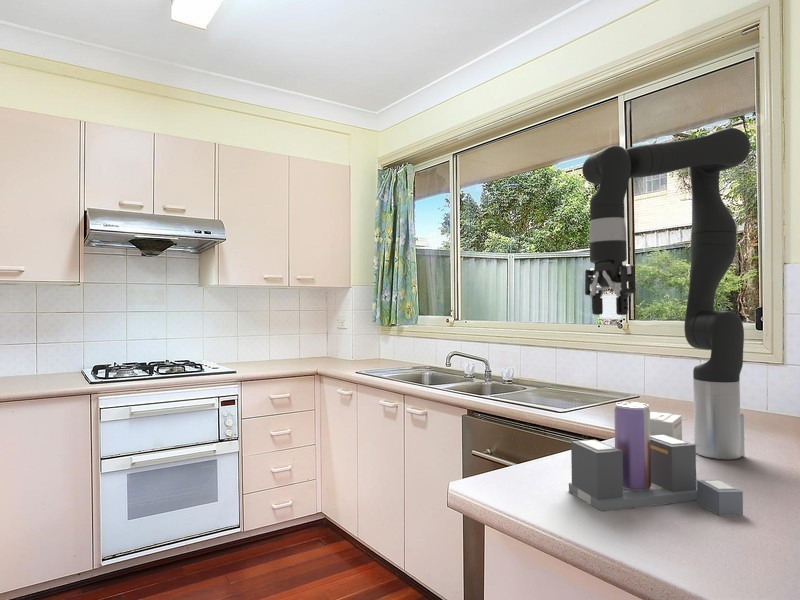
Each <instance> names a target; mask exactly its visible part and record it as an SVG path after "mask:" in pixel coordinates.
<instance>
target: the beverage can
mask: <svg viewBox="0 0 800 600" xmlns="http://www.w3.org/2000/svg"><path fill="white" fill-rule="evenodd" d="M649 407H650V405H649V404H646V403H643V402H636V401H619V402H615V406H614V409H613V410H614V411H613V412H614V415H613V416H614V447H615V448H617V449H619V450H622V454H623V489H624V490H627V491H633V492H644V491H647V490H649V488H650V487H651V441H650V412H651V411H650V408H649Z"/></svg>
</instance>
